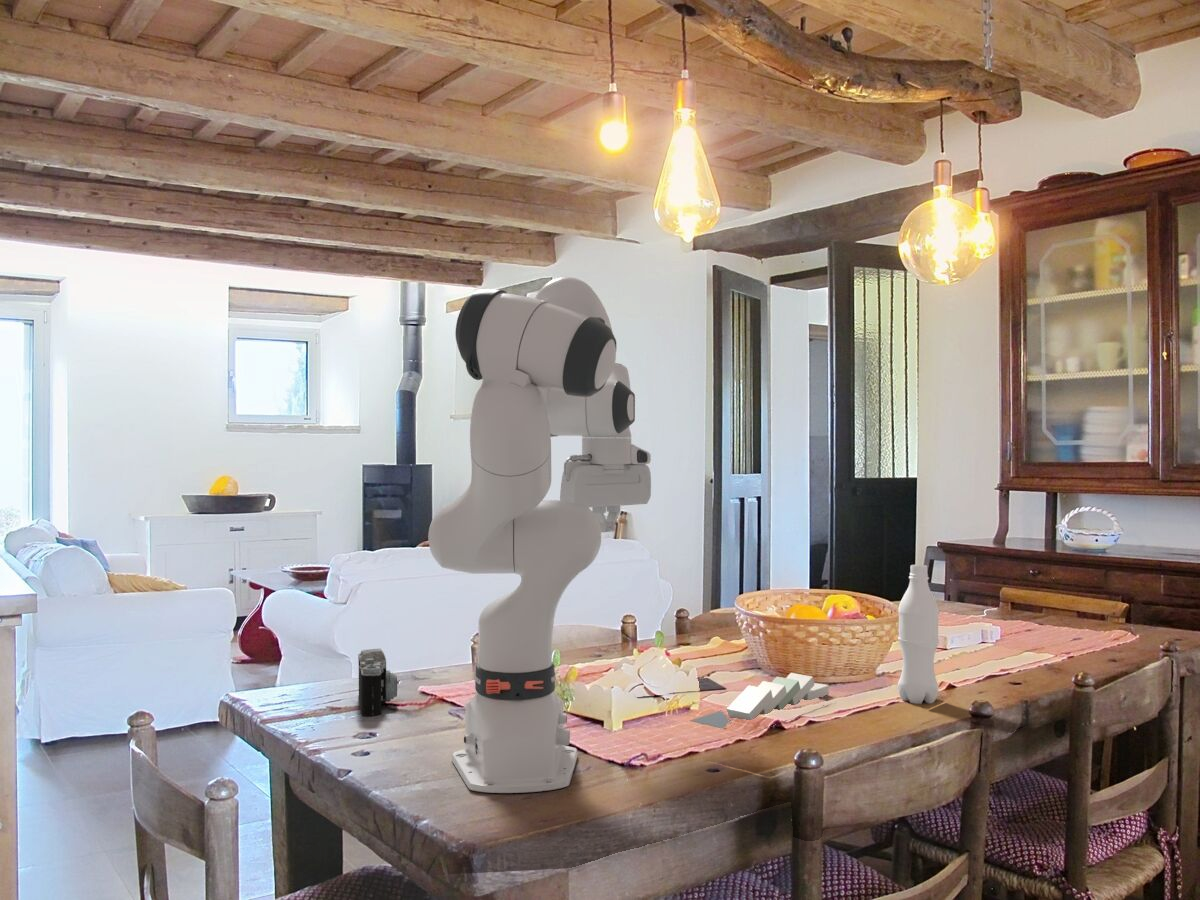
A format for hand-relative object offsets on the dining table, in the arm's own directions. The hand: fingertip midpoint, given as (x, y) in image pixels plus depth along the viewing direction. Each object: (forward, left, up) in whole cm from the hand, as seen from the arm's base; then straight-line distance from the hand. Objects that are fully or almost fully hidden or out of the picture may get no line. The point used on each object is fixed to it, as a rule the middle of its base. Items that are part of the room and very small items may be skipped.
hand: (606, 531), depth 186 cm
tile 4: (-3, -32, -30) cm, 44 cm away
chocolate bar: (+13, -15, -32) cm, 38 cm away
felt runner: (-6, -28, -32) cm, 42 cm away
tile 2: (-9, -25, -30) cm, 40 cm away
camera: (+6, +41, -32) cm, 52 cm away
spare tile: (-6, -28, -30) cm, 42 cm away
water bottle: (-2, -58, -32) cm, 66 cm away
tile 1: (-12, -21, -30) cm, 39 cm away
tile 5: (0, -35, -30) cm, 47 cm away
